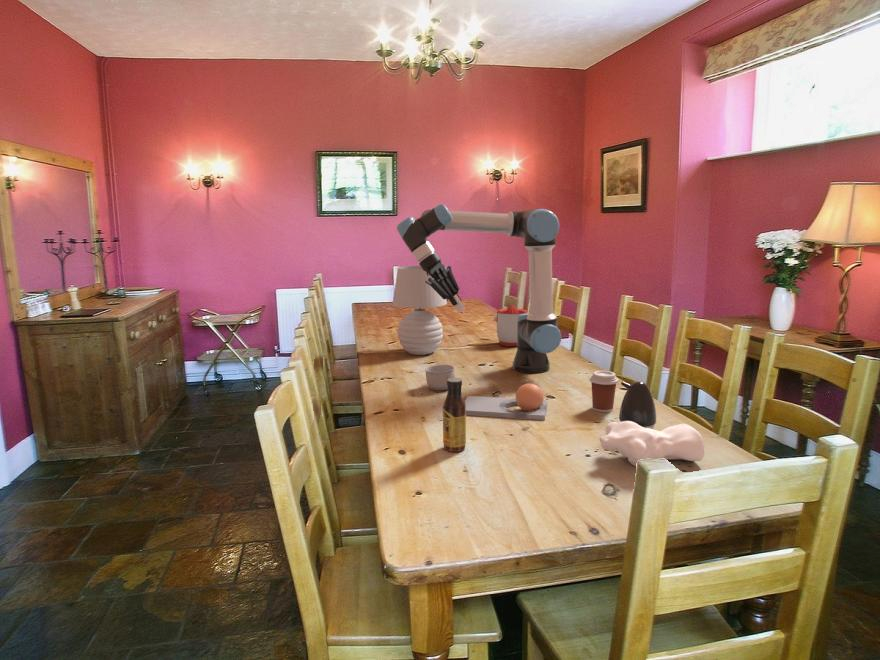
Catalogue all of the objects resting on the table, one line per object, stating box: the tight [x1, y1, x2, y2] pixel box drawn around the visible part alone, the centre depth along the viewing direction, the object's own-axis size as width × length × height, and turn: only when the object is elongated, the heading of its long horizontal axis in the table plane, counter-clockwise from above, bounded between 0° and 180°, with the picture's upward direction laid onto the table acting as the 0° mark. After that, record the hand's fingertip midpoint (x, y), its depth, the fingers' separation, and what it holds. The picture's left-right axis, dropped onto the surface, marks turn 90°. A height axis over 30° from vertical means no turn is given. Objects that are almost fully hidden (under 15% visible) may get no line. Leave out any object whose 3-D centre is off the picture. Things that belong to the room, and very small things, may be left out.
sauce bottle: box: [442, 377, 467, 453], centre depth 154 cm, size 6×6×20 cm
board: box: [464, 395, 548, 421], centre depth 187 cm, size 27×15×2 cm, turn 76°
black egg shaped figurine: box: [618, 381, 657, 429], centre depth 164 cm, size 10×10×15 cm
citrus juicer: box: [492, 304, 529, 347], centre depth 280 cm, size 16×17×20 cm
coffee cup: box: [588, 370, 620, 413], centre depth 185 cm, size 9×9×12 cm
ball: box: [515, 383, 545, 412], centre depth 185 cm, size 9×9×9 cm
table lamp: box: [392, 265, 448, 356], centre depth 265 cm, size 25×25×40 cm
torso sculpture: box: [599, 421, 705, 467], centre depth 145 cm, size 18×10×25 cm
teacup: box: [424, 363, 456, 392], centre depth 212 cm, size 14×11×8 cm
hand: (462, 311), depth 208 cm, fingers closed
